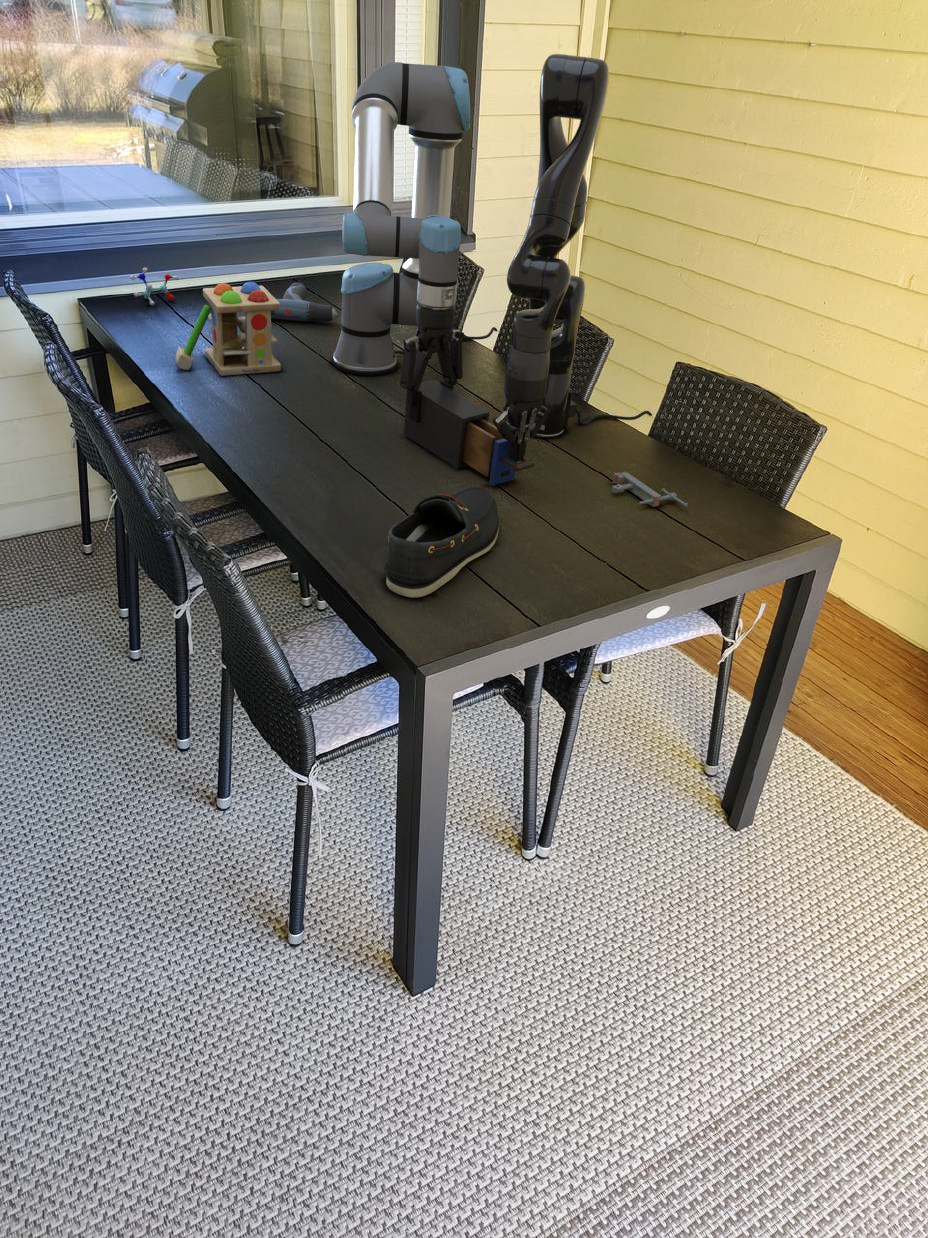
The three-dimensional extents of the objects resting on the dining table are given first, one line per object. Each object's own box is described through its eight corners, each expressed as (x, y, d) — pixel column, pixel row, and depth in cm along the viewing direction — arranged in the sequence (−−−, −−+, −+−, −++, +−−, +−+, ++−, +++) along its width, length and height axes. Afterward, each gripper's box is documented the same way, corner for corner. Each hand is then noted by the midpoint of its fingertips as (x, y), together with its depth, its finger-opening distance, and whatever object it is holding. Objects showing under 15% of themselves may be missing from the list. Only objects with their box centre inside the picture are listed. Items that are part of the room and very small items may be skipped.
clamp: (601, 475, 192) (641, 467, 197) (599, 485, 194) (639, 477, 198) (649, 509, 182) (690, 500, 186) (647, 519, 183) (688, 510, 188)
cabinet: (483, 461, 198) (489, 411, 192) (457, 469, 195) (463, 418, 188) (429, 427, 209) (433, 379, 203) (403, 434, 205) (407, 384, 199)
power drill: (344, 304, 276) (335, 327, 259) (277, 298, 275) (264, 321, 258) (344, 285, 273) (335, 306, 256) (277, 279, 272) (264, 300, 255)
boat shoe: (525, 530, 177) (530, 477, 171) (421, 604, 153) (423, 545, 147) (465, 510, 182) (468, 458, 177) (355, 579, 158) (355, 521, 153)
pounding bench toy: (183, 379, 220) (176, 299, 210) (169, 357, 231) (162, 280, 221) (282, 371, 230) (280, 294, 220) (264, 350, 240) (262, 276, 230)
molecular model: (162, 296, 256) (148, 259, 255) (134, 310, 260) (120, 273, 259) (187, 299, 267) (174, 263, 265) (160, 312, 270) (147, 276, 269)
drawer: (532, 490, 189) (539, 447, 183) (511, 497, 185) (517, 454, 180) (460, 445, 201) (465, 404, 196) (439, 450, 198) (443, 409, 193)
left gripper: (407, 316, 181) (401, 432, 194) (487, 303, 193) (477, 413, 205) (383, 305, 186) (379, 419, 199) (463, 293, 197) (454, 401, 210)
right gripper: (514, 384, 170) (503, 475, 179) (568, 371, 177) (555, 459, 187) (485, 370, 174) (477, 459, 184) (539, 358, 182) (528, 444, 191)
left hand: (429, 416), depth 202 cm, fingers closed on cabinet, 7 cm apart
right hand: (516, 459), depth 185 cm, fingers closed
